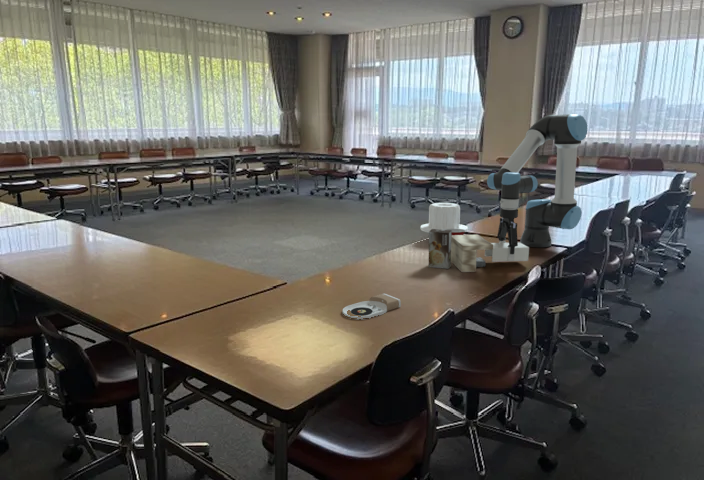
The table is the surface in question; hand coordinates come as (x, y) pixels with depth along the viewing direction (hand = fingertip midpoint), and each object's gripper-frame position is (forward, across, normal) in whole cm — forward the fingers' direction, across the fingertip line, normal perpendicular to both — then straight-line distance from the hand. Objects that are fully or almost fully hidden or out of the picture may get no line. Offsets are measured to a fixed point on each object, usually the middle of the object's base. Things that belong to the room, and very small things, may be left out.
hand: (505, 257), depth 224 cm
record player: (+4, +50, -67) cm, 83 cm away
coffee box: (+3, 0, -30) cm, 30 cm away
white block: (0, 0, 0) cm, 0 cm away
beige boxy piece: (+3, 0, -17) cm, 17 cm away
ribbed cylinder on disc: (+3, -51, -15) cm, 53 cm away
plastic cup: (+3, -21, -18) cm, 28 cm away
